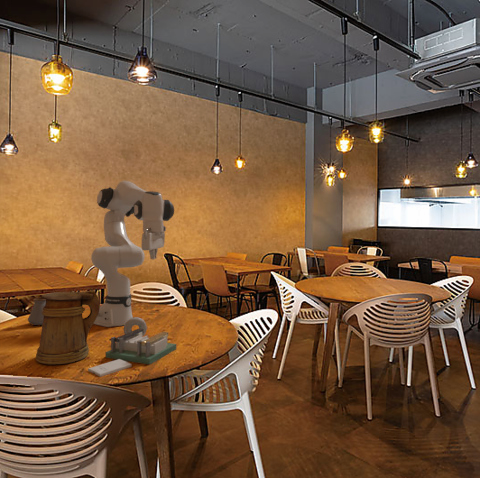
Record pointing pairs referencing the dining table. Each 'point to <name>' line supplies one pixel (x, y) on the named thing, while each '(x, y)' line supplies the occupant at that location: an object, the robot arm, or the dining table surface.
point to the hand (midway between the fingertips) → (153, 259)
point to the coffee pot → (37, 312)
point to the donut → (135, 321)
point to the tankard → (66, 326)
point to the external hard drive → (110, 367)
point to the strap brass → (154, 338)
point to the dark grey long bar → (129, 334)
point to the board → (139, 349)
